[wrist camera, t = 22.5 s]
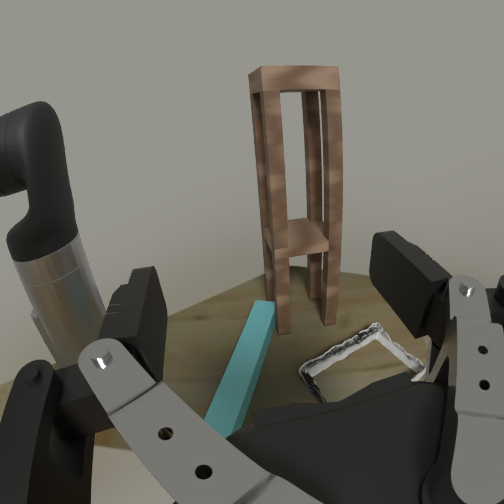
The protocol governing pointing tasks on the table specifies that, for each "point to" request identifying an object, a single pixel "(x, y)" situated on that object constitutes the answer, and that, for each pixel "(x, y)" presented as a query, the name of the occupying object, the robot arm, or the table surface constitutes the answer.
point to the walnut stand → (274, 187)
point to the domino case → (242, 371)
